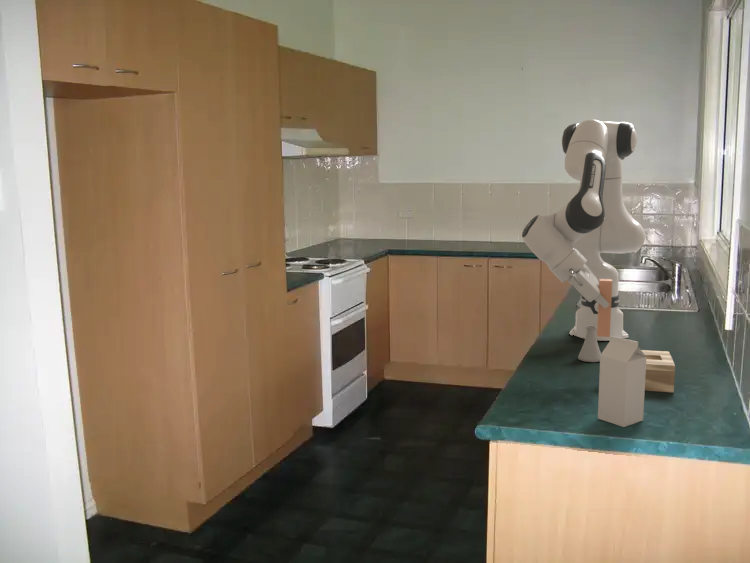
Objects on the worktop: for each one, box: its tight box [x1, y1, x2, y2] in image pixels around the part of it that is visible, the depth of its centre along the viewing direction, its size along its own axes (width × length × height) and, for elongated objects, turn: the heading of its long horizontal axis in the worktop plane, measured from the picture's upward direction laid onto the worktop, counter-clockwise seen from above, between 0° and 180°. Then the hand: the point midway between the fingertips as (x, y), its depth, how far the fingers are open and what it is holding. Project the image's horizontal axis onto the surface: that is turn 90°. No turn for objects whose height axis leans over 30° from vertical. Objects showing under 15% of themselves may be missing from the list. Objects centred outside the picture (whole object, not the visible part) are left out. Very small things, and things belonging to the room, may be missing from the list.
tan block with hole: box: [640, 349, 676, 393], centre depth 194 cm, size 14×10×7 cm
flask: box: [577, 326, 602, 363], centre depth 216 cm, size 7×7×10 cm
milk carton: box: [597, 336, 646, 428], centre depth 166 cm, size 7×7×19 cm
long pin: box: [597, 279, 612, 337], centre depth 196 cm, size 3×3×15 cm
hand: (607, 304), depth 196 cm, fingers closed on long pin, 3 cm apart
